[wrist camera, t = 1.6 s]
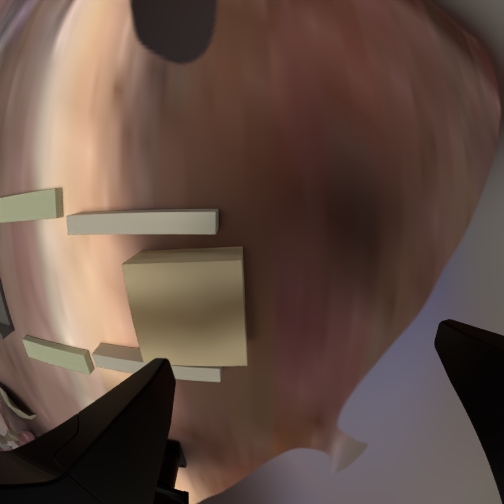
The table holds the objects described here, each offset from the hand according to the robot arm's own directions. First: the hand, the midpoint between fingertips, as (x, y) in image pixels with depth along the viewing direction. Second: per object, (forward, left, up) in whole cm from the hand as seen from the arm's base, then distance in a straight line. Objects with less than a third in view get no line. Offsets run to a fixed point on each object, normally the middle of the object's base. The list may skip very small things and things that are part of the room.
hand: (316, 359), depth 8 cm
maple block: (-4, +6, -14) cm, 15 cm away
